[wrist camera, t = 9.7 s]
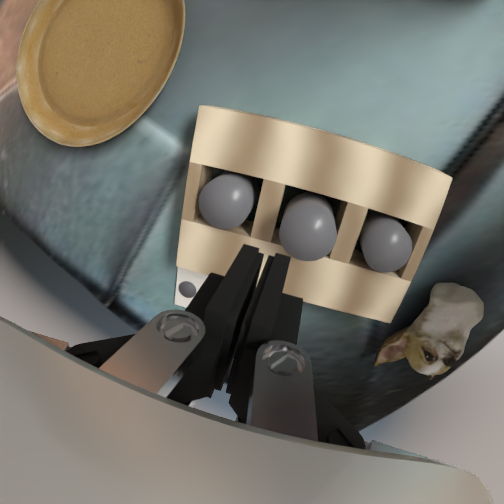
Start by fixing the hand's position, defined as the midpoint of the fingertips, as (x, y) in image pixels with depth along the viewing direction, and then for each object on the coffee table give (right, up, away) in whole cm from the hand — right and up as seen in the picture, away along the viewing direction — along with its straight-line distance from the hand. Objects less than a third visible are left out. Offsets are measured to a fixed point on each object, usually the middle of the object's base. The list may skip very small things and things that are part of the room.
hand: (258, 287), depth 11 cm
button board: (+5, +5, +20) cm, 22 cm away
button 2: (+13, +3, +20) cm, 24 cm away
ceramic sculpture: (+21, -7, +23) cm, 32 cm away
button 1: (-2, +7, +21) cm, 22 cm away
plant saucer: (-18, +25, +16) cm, 35 cm away
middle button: (+5, +4, +18) cm, 19 cm away
